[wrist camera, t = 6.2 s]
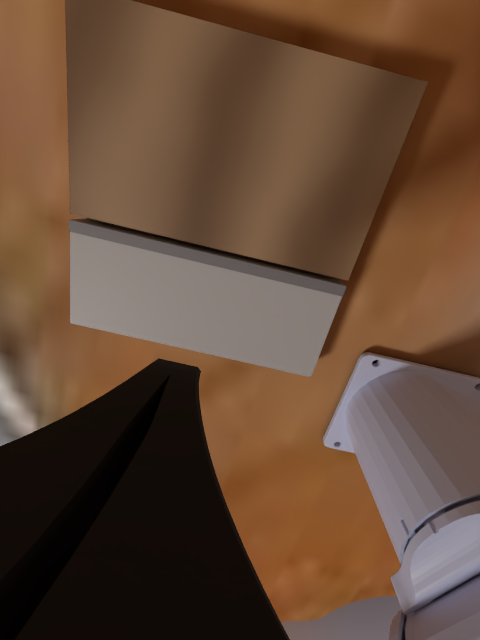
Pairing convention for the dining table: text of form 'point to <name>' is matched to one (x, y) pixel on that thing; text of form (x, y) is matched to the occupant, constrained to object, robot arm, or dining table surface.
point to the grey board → (199, 297)
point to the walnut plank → (228, 135)
